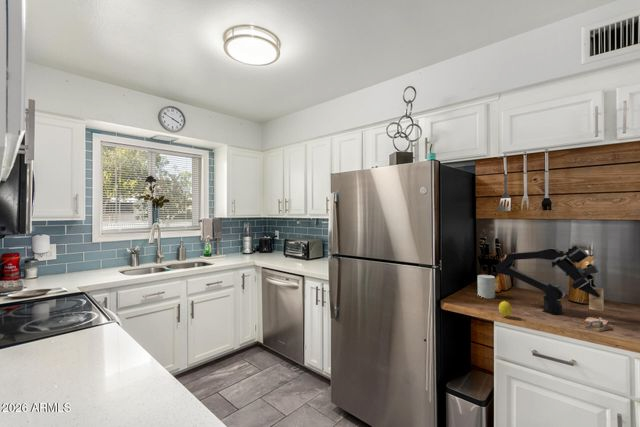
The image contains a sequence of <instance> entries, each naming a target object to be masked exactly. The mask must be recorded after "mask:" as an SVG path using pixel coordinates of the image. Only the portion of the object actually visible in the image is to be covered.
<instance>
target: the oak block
mask: <svg viewBox="0 0 640 427" xmlns="http://www.w3.org/2000/svg"><path fill="white" fill-rule="evenodd" d="M593 288H594V289H595V290H596V292H597V293H598V294H599V295H600V297H596V296H594V295H591V294H589V293H588V309H589V310H592V311H598V312H603V311H604V306H605V305H604V293H605V292H604V287H598V286H597V287H593Z"/></svg>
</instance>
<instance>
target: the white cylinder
mask: <svg viewBox="0 0 640 427" xmlns="http://www.w3.org/2000/svg"><path fill="white" fill-rule="evenodd" d="M478 295H479V296H481V297H480V298H482V297H484V298H483V299H495V298H496V277H495V276H494V275H490V274H489V275H488V274H478V275H477V296H478ZM479 296H478V297H479Z"/></svg>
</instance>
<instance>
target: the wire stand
mask: <svg viewBox="0 0 640 427" xmlns="http://www.w3.org/2000/svg"><path fill="white" fill-rule="evenodd" d="M598 319H599V321H589V322H588V324H585V325H584V328H585V329H589V330H592V331H596V332H603V331H606V330H610V329H612V326H611V325H609V324H603V322H602V320H603V319H602V317H598Z"/></svg>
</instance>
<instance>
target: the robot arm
mask: <svg viewBox="0 0 640 427" xmlns="http://www.w3.org/2000/svg"><path fill="white" fill-rule="evenodd" d="M589 256H590V254H589V253H588V252H587V251H585V249H582V248H581V247H579V246H578V245H574V246H573V247H572V248H571V249H569V250H568V251H564V250H560V249H558V248H556V247H551V248H545V249H542V250H537V251H534V250H533V251H523V252H522V251H521V252H510V253H508V254H507V256H505V258H503V260H501V262H500V263H497V264H496V265H495V270H496V272H497V273H498V274H501V275H505V276H509V277H513V278H514V279H517V280H519V281H522V283H526V284H528V285H530V286H531V287H534V288H536V289H538V290H540V291H541V292H543V293H544V294H545V295H544V296H543V297H542V299H543V309H542V312H543V313H548V314H550V315H551V314H552V315H553V316H554V315H555V316H556V315H562V314H564V312H563V305H562V301H560V300H561V299H563V298H564V297H565V296H566V293H567V292H566V290H565V288H564V287H562V286H561V285H560V284H558V283H555V282H553V281H550V282H545V281H542V280H540V279H538V278H535V277H533V276H531V275H530V274H526V273H524V272H523V271H520V270H518V269H516V267H514V266H513V264H515V261H517V260H519V261H520V260H530V259H531V260H534V259H540V260H548V261H551V268H555V267H556V266H557V267H558V268H559V269H560V270H561V271H562V272H563V273H565V276H566V277H569V278H570V279H571V280H572V283H571V287H572V288H573V289H575V290H577V289H578V290H579V291H582V292H585V293H587V294H588V295H589V294H591V295H594V296H596V297H600V295H599V294H598V293H597V292H596V290H595V289H594V288H593V287H598V286H597V285H596V284H595V275H594V274H597V273H599V272H600V271H599V269H598V267H597V266H596V264H594V265H593V264H592V263H589V264H586V267H580V266H577V265H575V263H576V264H579V263H581V262H583V261H584V260H585V259H587V258H588V257H589ZM563 257H564V258H563ZM556 259H557V260H556Z"/></svg>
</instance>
